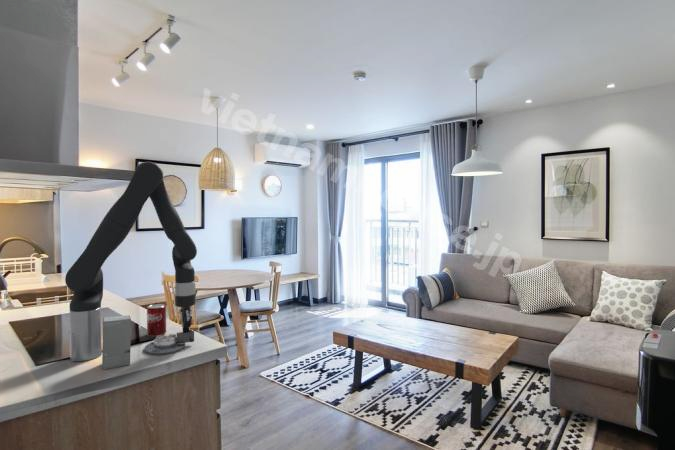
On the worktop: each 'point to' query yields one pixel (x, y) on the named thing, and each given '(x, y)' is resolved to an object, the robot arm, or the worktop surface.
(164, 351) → the cap plate
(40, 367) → the worktop surface
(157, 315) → the soda can
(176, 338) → the small handled pan
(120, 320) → the skincare box
